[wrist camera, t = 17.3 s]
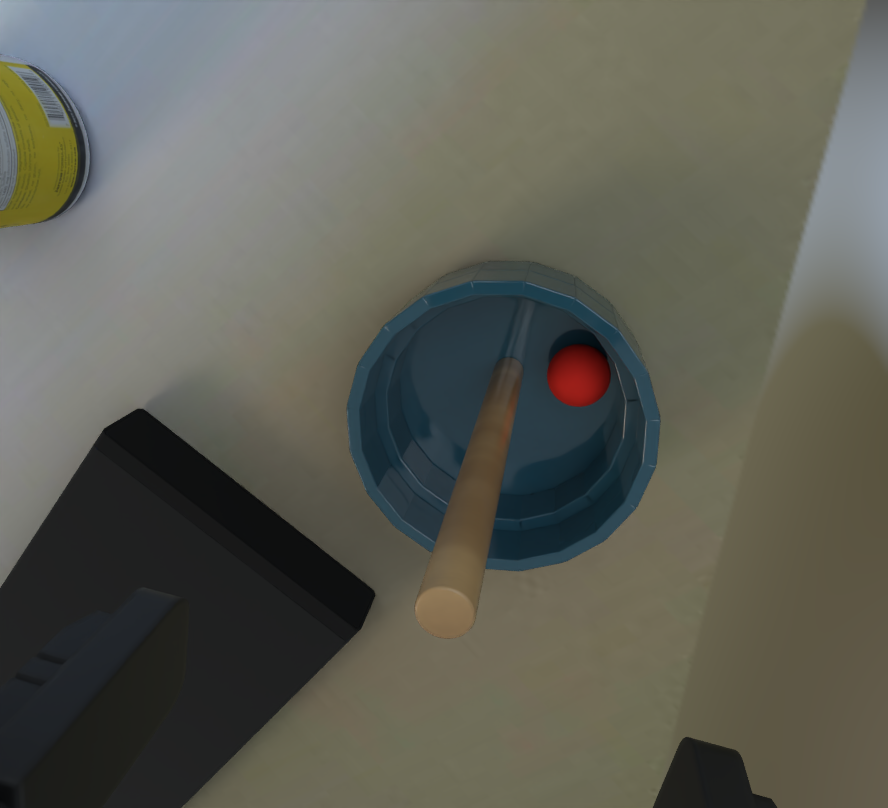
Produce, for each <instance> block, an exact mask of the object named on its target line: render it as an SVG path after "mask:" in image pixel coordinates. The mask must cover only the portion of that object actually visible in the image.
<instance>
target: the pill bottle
mask: <svg viewBox="0 0 888 808" xmlns="http://www.w3.org/2000/svg"><path fill="white" fill-rule="evenodd" d="M89 166H90V150H89V142H88V137H87V133H86V130H85V127H84V123H83V121H82V118H81V116H80V114H79V112H78V110H77V108H76V107H75V105H74V103H73V102H72V100H71V99H70V97H69V96H68V95H67V93H66V92H65V91H64V90H63V88H62V87H61V86H60V85H59V84H58V83H57V82H56V81H55V80H54V79H53V78H52V77H51V76H49V75H48V74H47V73H45V72H44V71H43V70H41V69H40V68H38V67H36V66H34V65H33V64H31V63H29V62H26V61H24V60H22V59H19V58H16V57H12V56H8V55H2V54H0V228H6V227H13V226H21V225H27V224H35V223H40V222H44V221H48V220H51V219H54V218H56V217H58V216H60V215H61V214H63V213H64V212H66V211H67V210H68V209H69V208H71V207H72V206H73V204H74V203H75V202H76V201H77V200H78V198H79V196H80V195H81V193H82V191H83V189H84V187H85V184H86V181H87V178H88V173H89Z"/></svg>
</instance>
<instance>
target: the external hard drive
mask: <svg viewBox="0 0 888 808" xmlns="http://www.w3.org/2000/svg"><path fill="white" fill-rule="evenodd" d="M141 587H145V588H148V589H152V590H156V591H159V592H163V593H167V594H170V595H174V596H178V597H181V598H185V599H187V600H188V603H189V625H188V642H187V659H186V672H185V678H184V682H183V685H182V688H181V691H180V694H179V696H178V698H177V700H176V702H175V704H174V706H173V708H172V710H171V711H170V713H169V714H168V716H167V717H166V718H165V720H164V721H163V723H162V724H161V725H160V727H159V728H158V730H157V731H156V733H155V734H154V735H153V737H152V738H151V740H150V741H149V742H148V744H147V745H146V747H145V748H144V750H143V751H142V752H141V754H140V755H139V757H138V758H137V759H136V761H135V762H134V764H133V765H132V767H131V768H130V769H129V771H128V772H127V774H126V775H125V776H124V778H123V779H122V781H121V782H120V784H119V785H118V786H117V788H116V789H115V791H114V792H113V793H112V795H111V796H110V798H109V799H108V800H107V802H106V803H105V805H104V806H103V808H181V807H182V806H183V805H184V804H185V803H186V802H187V801H188V800H189V799H190V798H191V797H192V796H193V795H194V794H195V793H196V792H198V791H199V790H200V789H201V788H202V787H203V786H204V785H205V784H206V783H207V782H208V781H209V780H210V779H211V778H212V777H213V776H214V775H215V774H216V773H217V772H218V771H219V770H220V769H221V768H222V767H223V766H224V765H225V764H226V763H227V762H228V761H229V760H230V759H231V758H232V757H233V756H234V755H235V754H236V753H237V752H238V751H239V750H240V749H241V748H242V747H243V746H244V745H245V744H246V743H247V742H248V741H249V740H250V739H251V738H252V737H253V736H254V735H255V734H256V733H257V732H258V731H259V730H260V729H261V728H262V727H263V726H264V725H265V724H266V723H267V722H268V721H269V720H270V719H271V718H272V717H273V716H274V715H275V714H276V713H277V712H278V711H279V710H280V709H281V708H282V707H283V706H284V705H285V704H286V703H287V702H288V701H289V700H290V699H291V698H292V697H293V696H294V695H295V694H296V693H297V692H298V691H299V690H300V689H301V688H302V687H303V686H304V685H305V684H306V683H307V682H308V681H309V680H310V679H311V678H312V677H313V676H314V675H315V674H316V673H317V672H318V671H319V670H320V669H321V668H322V667H323V666H324V665H325V664H326V663H327V662H328V661H329V660H330V659H331V658H332V657H333V656H334V655H335V654H336V653H337V652H338V651H339V650H340V649H341V648H342V647H343V646H344V645H345V644H346V643H347V642H348V641H349V640H350V639H351V638H352V637H353V636H354V635H355V634H356V633H357V632H358V631H359V630H360V629H361V628H362V625H363V623H364V621H365V619H366V616H367V614H368V612H369V609H370V607H371V605H372V602H373V600H374V598H375V593H374V591H373V590H372V589H371V588H370V587H368V586H367V585H366V584H365V583H363V582H362V581H361V580H360V579H358V578H357V577H356V576H354V575H353V574H352V573H351V572H349V571H348V570H347V569H346V568H344V567H343V566H342V565H341V564H339V563H338V562H337V561H335V560H334V559H333V558H332V557H330V556H329V555H328V554H327V553H325V552H324V551H323V550H321V549H320V548H319V547H318V546H316V545H315V544H314V543H313V542H311V541H310V540H309V539H308V538H306V537H305V536H304V535H302V534H301V533H300V532H299V531H297V530H296V529H295V528H294V527H292V526H291V525H290V524H288V523H287V522H286V521H285V520H283V519H282V518H281V517H280V516H278V515H277V514H276V513H275V512H273V511H272V510H271V509H269V508H268V507H267V506H266V505H264V504H263V503H262V502H261V501H259V500H258V499H257V498H255V497H254V496H253V495H252V494H250V493H249V492H248V491H247V490H245V489H244V488H243V487H242V486H240V485H239V484H238V483H236V482H235V481H234V480H233V479H231V478H230V477H229V476H228V475H226V474H225V473H224V472H222V471H221V470H220V469H219V468H217V467H216V466H215V465H214V464H212V463H211V462H210V461H208V460H207V459H206V458H205V457H203V456H202V455H201V454H200V453H198V452H197V451H196V450H195V449H193V448H192V447H191V446H189V445H188V444H187V443H186V442H184V441H183V440H182V439H181V438H179V437H178V436H177V435H175V434H174V433H173V432H172V431H170V430H169V429H168V428H167V427H165V426H164V425H163V424H162V423H160V422H159V421H158V420H156V419H155V418H154V417H153V416H151V415H150V414H149V413H148V412H146V411H145V410H143V409H136V410H135V411H133V412H131V413H130V414H128V415H126V416H125V417H123V418H121V419H120V420H118V421H116V422H115V423H113V424H111V425H109V426H108V427H106V428H105V429H104V430H103V431H102V433H101V434H100V436H99V437H98V439H97V440H96V442H95V444H94V445H93V447H92V448H91V450H90V451H89V453H88V454H87V456H86V457H85V459H84V460H83V462H82V464H81V465H80V467H79V468H78V470H77V471H76V473H75V474H74V476H73V477H72V479H71V480H70V482H69V483H68V485H67V487H66V488H65V490H64V491H63V493H62V494H61V496H60V497H59V499H58V500H57V502H56V503H55V505H54V507H53V508H52V510H51V511H50V513H49V514H48V516H47V517H46V519H45V520H44V522H43V523H42V525H41V526H40V528H39V530H38V531H37V533H36V534H35V536H34V537H33V539H32V540H31V542H30V543H29V545H28V546H27V548H26V550H25V551H24V553H23V554H22V556H21V557H20V559H19V560H18V562H17V563H16V565H15V566H14V568H13V569H12V571H11V573H10V574H9V576H8V577H7V579H6V580H5V582H4V583H3V585H2V586H1V588H0V688H1V687H2V686H3V685H4V684H5V683H6V682H7V681H8V680H9V679H10V678H14V677H15V676H16V674H17V672H18V671H19V670H20V669H21V668H22V667H23V666H24V665H25V664H26V663H27V662H28V661H29V660H30V659H31V658H32V657H36V656H37V655H38V652H39V651H40V650H41V649H42V648H43V647H44V646H45V645H46V644H47V643H48V642H49V641H50V640H51V639H52V638H53V637H55V636H56V635H57V634H58V633H59V632H60V631H61V630H62V629H63V628H64V627H66V626H68V625H70V624H72V623H74V622H76V621H78V620H80V619H82V618H84V617H86V616H88V615H89V614H91V613H93V612H95V611H97V610H99V611H102V612H106V613H110V614H113V613H114V612H115V611H116V610H117V609H118V608H119V607H120V606H121V605H122V603H123V602H124V601H125V600H126V599H127V598H128V597H129V596H130V595H131V594H132V593H133V592H135V591H136V590H137V589H139V588H141Z"/></svg>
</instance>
